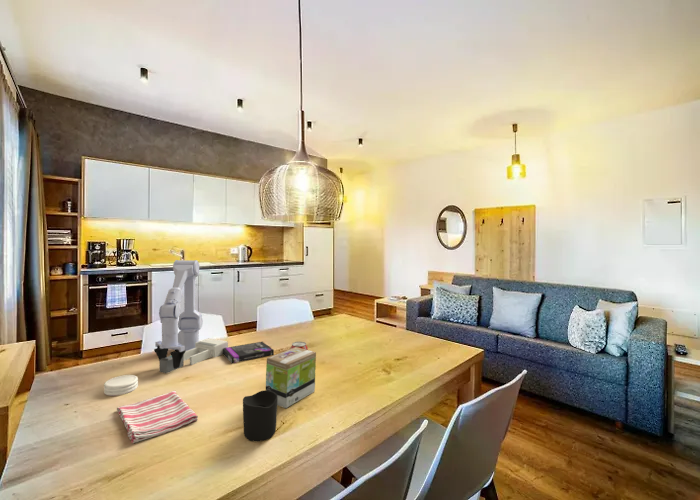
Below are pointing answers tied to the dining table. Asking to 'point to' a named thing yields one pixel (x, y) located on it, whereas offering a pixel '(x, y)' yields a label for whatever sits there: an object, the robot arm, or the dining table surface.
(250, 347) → the box
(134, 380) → the coaster
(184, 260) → the robot arm
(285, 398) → the tea box
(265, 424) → the pen holder
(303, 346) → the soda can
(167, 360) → the grey tapered block
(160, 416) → the dish towel
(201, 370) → the dining table surface
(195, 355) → the stand
